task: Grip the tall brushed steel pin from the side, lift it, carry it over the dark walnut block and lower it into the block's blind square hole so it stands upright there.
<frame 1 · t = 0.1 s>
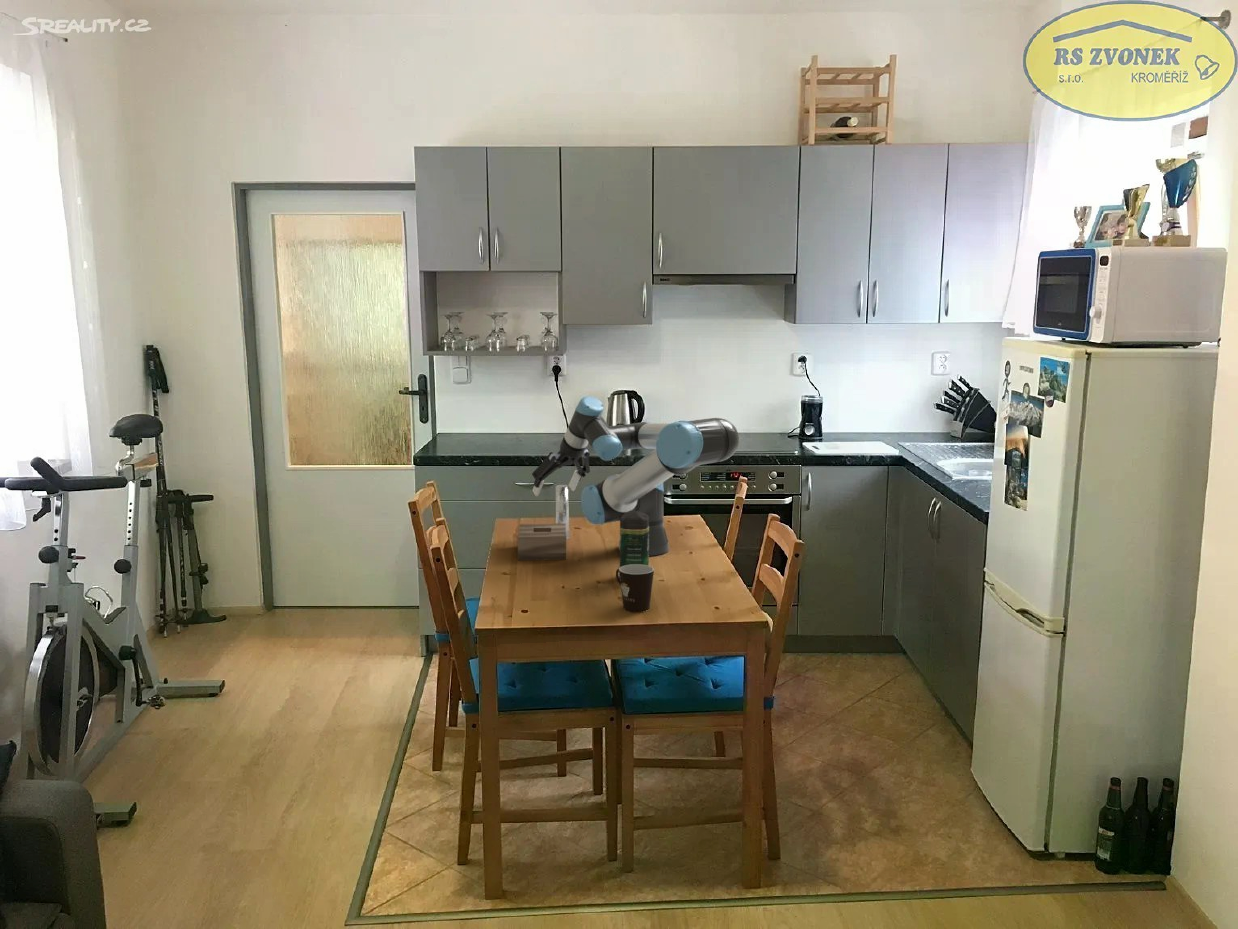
hand: (553, 490, 304), 15 cm above the table, tool tilted 35°, fingers open, 13 cm apart
coffee jar: (634, 580, 263), on the table
coffee mug: (635, 607, 240), on the table
steel pin: (562, 538, 306), on the table
socket block: (542, 552, 290), on the table
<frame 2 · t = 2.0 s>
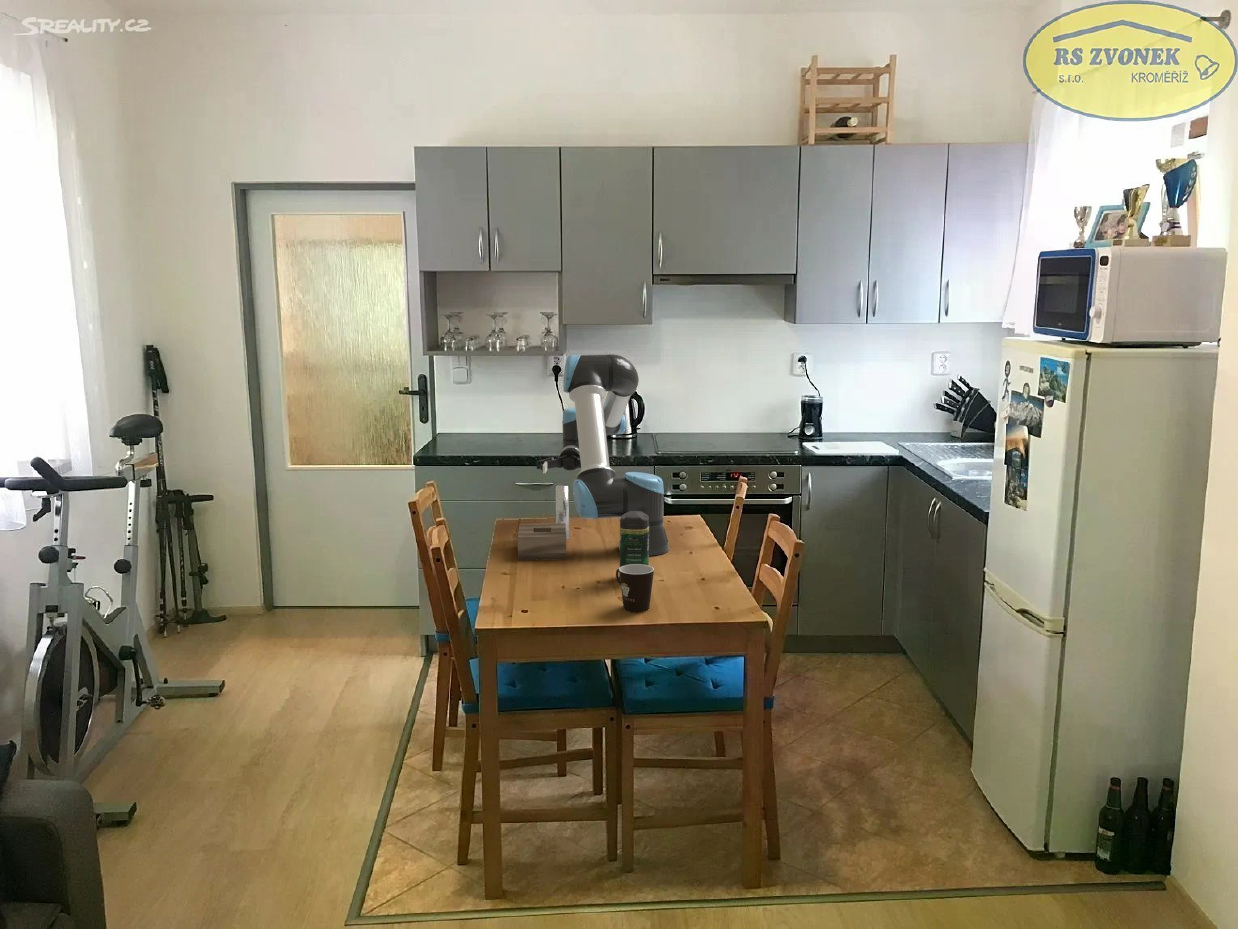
hand: (564, 470, 311), 20 cm above the table, tool horizontal, fingers open, 13 cm apart
nothing on the table moved.
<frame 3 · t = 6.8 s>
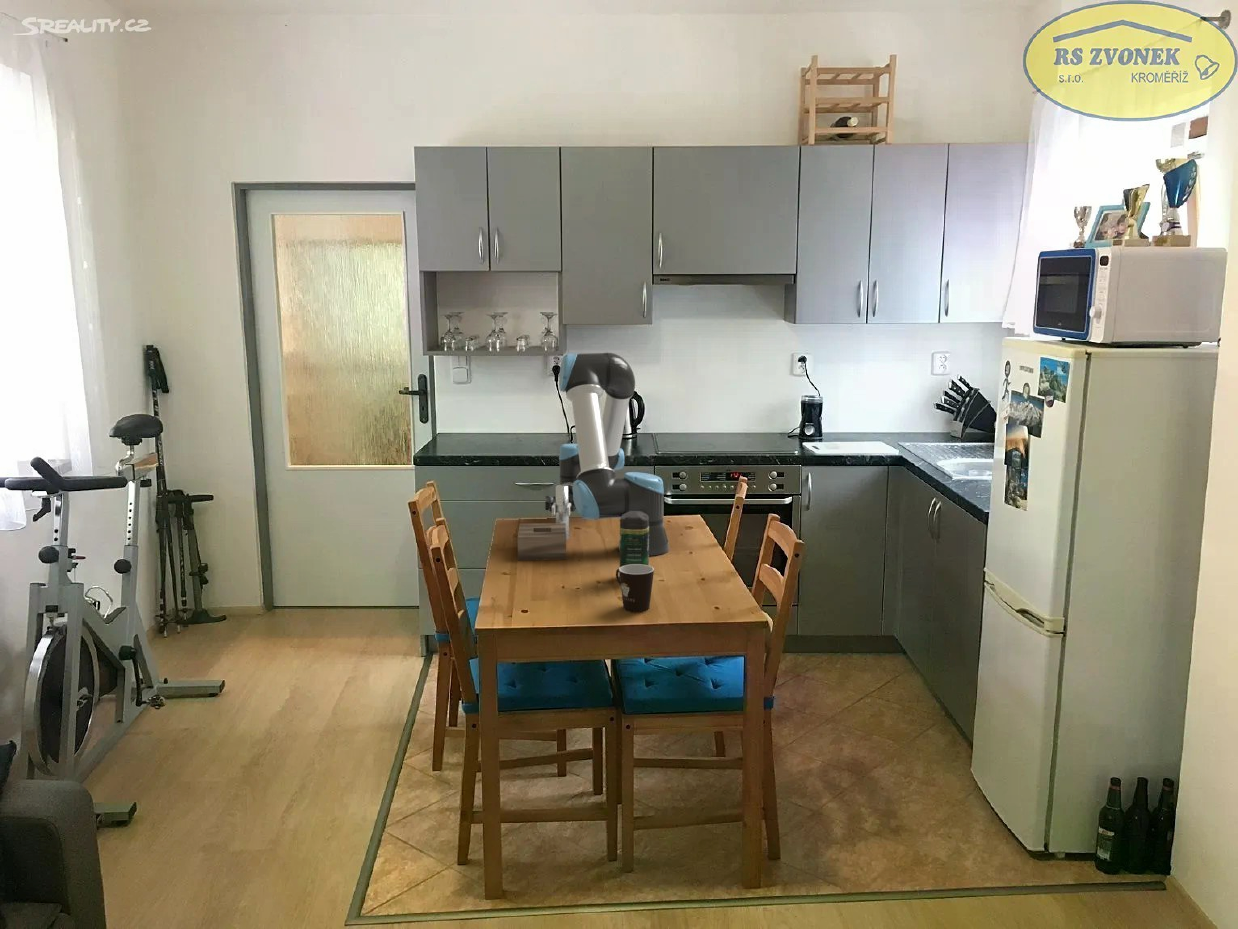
hand: (560, 511, 299), 10 cm above the table, tool horizontal, fingers closed on steel pin, 4 cm apart
steel pin: (562, 538, 306), on the table, touching gripper
everything else where it was.
when the fingers open (13 cm above the table, at t = 12.6 s): steel pin drops 1 cm, resting on socket block.
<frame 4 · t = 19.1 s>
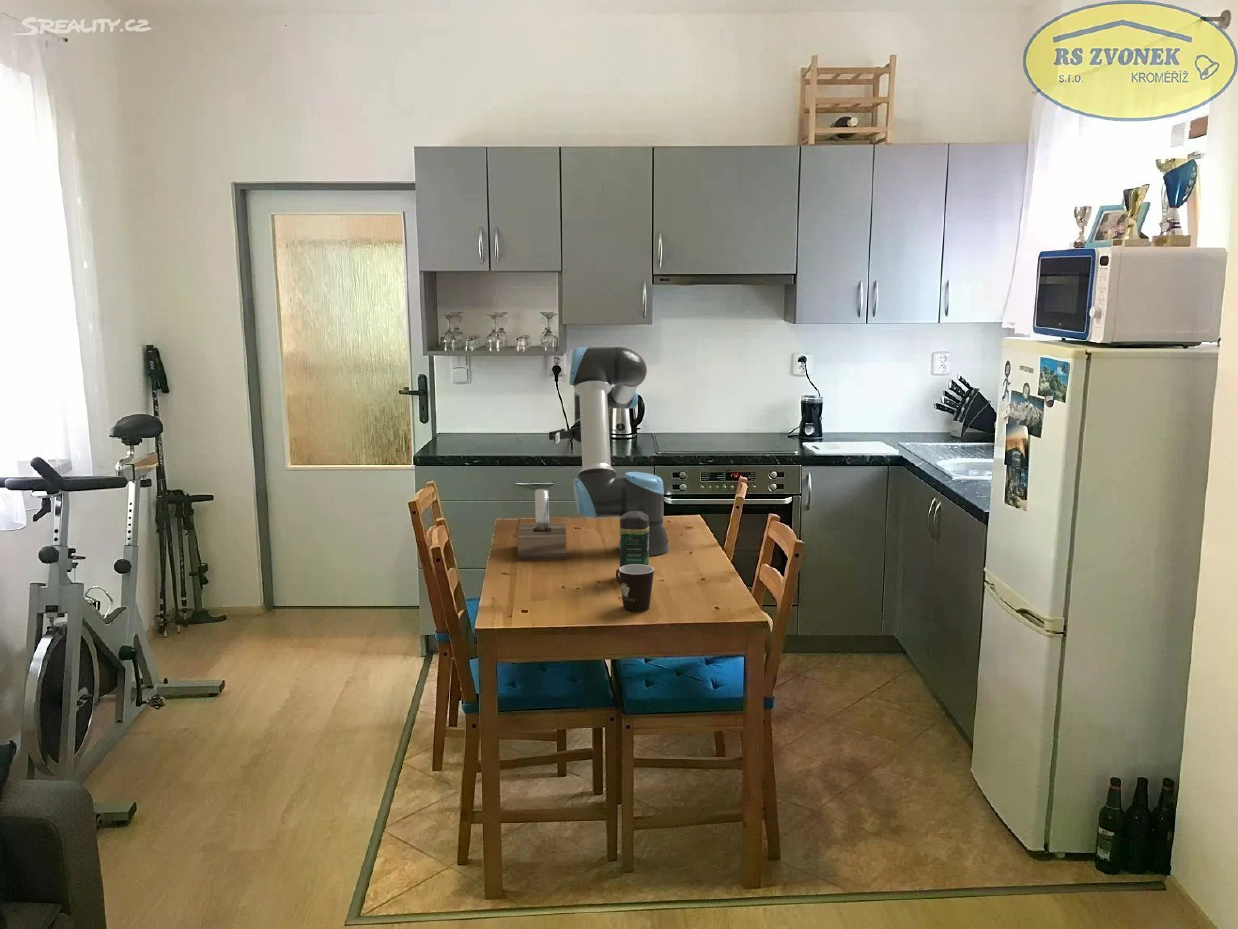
hand: (577, 439, 311), 30 cm above the table, tool horizontal, fingers open, 13 cm apart
steel pin: (542, 546, 289), point 2 cm above the table, touching socket block
everything else where it was.
at the end: steel pin 0.1 cm off-centre on the socket block, point 2.1 cm above the socket block's base; steel pin tilted 2°; the gripper is holding nothing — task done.
